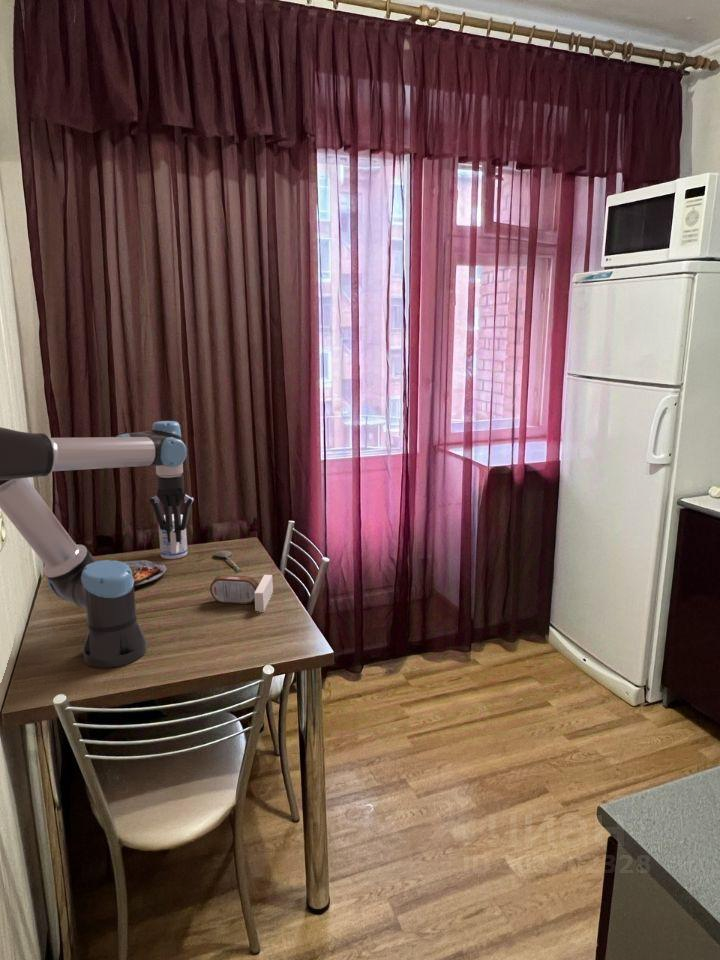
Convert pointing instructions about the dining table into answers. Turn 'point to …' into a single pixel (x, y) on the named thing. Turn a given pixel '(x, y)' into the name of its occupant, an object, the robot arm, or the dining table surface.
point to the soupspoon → (226, 554)
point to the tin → (234, 589)
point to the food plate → (146, 571)
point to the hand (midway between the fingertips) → (175, 552)
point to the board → (263, 593)
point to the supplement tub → (166, 546)
